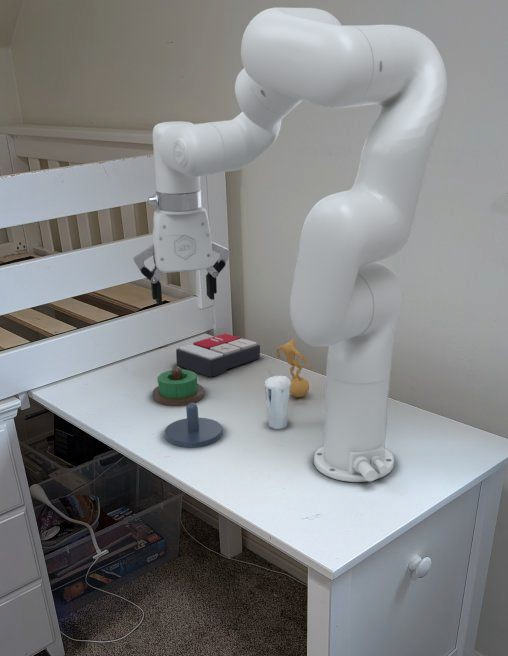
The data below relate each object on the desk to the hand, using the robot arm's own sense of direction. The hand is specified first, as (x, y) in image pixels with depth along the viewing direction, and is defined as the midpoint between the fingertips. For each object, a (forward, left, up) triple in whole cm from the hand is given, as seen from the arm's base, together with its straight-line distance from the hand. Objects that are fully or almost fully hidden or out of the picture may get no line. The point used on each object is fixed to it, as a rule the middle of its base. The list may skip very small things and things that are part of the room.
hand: (184, 300), depth 136 cm
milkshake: (-18, -12, -19) cm, 29 cm away
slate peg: (-17, +3, -19) cm, 26 cm away
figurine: (-8, -19, -19) cm, 28 cm away
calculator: (+16, -10, -19) cm, 27 cm away
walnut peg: (+1, +2, -19) cm, 19 cm away
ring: (+1, +2, -18) cm, 18 cm away
